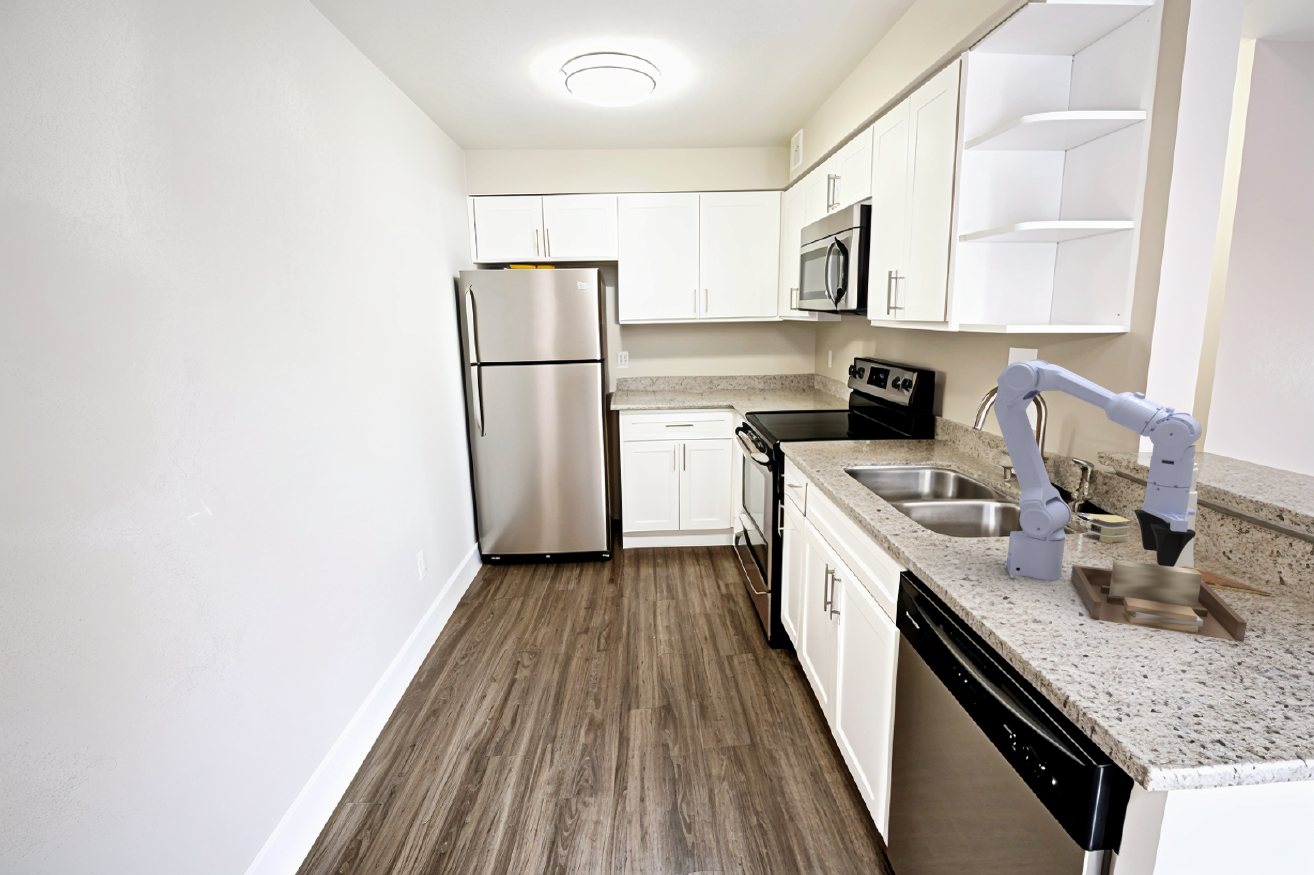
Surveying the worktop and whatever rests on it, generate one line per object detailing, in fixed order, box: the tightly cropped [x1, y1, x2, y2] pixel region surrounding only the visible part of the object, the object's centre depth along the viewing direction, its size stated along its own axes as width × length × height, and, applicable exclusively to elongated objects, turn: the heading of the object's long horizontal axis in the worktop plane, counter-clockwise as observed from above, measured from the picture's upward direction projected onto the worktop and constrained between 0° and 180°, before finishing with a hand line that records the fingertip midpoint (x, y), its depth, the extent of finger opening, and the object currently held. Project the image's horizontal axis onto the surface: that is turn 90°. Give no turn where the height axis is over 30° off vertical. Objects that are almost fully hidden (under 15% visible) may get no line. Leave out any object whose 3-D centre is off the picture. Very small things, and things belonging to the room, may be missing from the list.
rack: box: [1070, 564, 1248, 642], centre depth 107 cm, size 20×17×4 cm
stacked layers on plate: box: [1087, 513, 1131, 544], centre depth 141 cm, size 10×9×6 cm
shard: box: [1180, 566, 1273, 597], centre depth 115 cm, size 13×9×2 cm
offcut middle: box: [1130, 611, 1203, 627], centre depth 101 cm, size 9×4×1 cm, turn 70°
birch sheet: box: [1109, 559, 1202, 607], centre depth 108 cm, size 12×2×7 cm, turn 66°
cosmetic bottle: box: [1174, 462, 1199, 568], centre depth 125 cm, size 6×6×22 cm
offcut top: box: [1123, 597, 1197, 622], centre depth 101 cm, size 9×4×1 cm, turn 61°
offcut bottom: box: [1124, 608, 1199, 633], centre depth 101 cm, size 9×4×1 cm, turn 66°
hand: (1158, 557), depth 107 cm, fingers open, 7 cm apart
